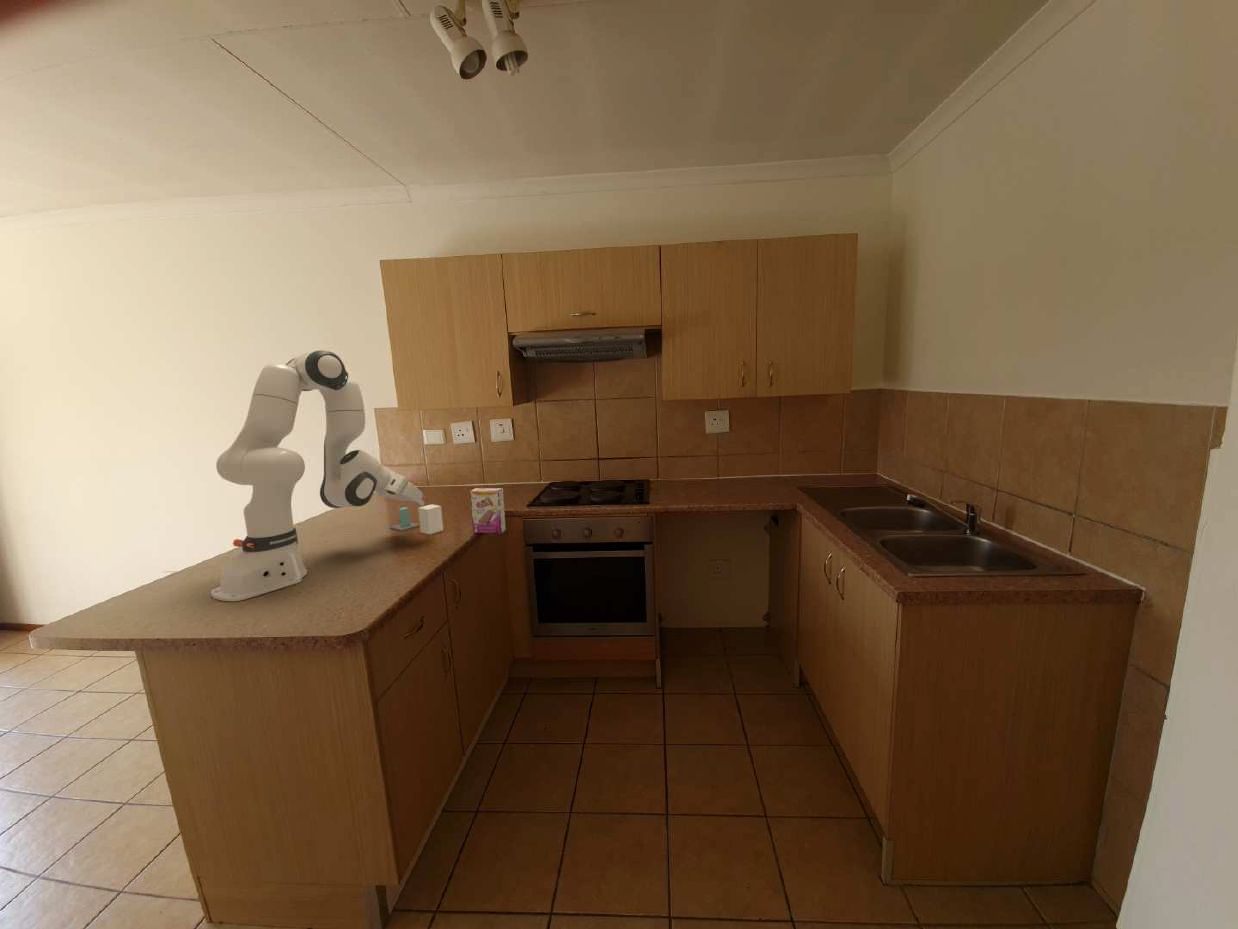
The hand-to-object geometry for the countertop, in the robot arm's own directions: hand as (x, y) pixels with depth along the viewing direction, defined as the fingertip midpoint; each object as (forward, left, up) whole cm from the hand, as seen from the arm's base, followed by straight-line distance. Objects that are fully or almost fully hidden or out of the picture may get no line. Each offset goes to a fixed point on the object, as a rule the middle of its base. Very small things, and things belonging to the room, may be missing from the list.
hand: (415, 502), depth 178 cm
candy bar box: (+13, -23, -13) cm, 29 cm away
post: (+6, +13, -12) cm, 19 cm away
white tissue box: (+6, -1, -12) cm, 14 cm away
